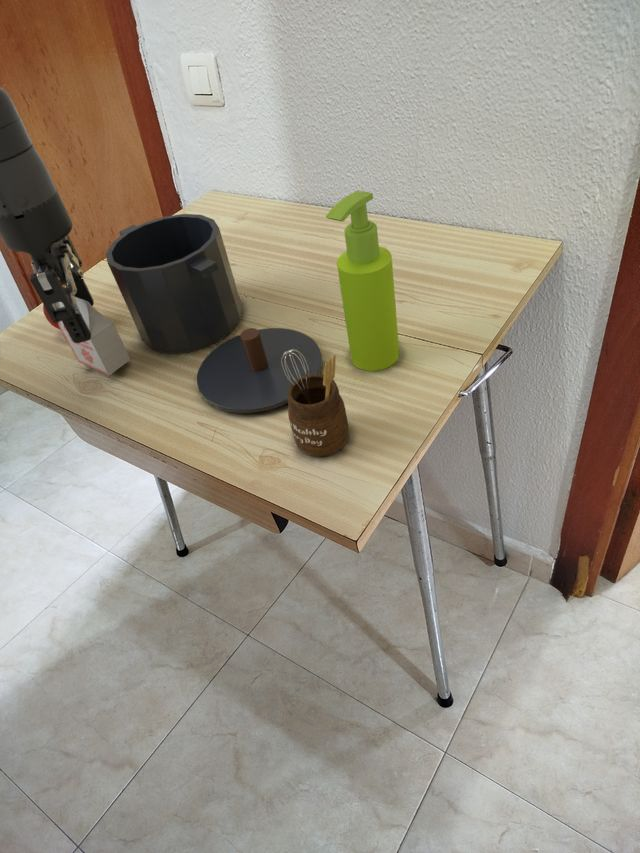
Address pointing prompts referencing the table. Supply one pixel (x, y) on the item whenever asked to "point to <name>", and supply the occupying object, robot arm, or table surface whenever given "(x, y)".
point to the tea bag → (97, 341)
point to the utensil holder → (317, 412)
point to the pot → (176, 282)
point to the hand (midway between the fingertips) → (85, 322)
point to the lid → (256, 369)
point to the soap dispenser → (366, 287)
